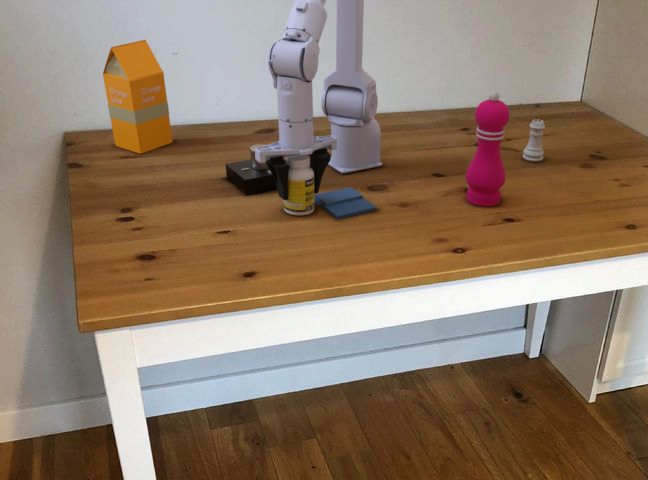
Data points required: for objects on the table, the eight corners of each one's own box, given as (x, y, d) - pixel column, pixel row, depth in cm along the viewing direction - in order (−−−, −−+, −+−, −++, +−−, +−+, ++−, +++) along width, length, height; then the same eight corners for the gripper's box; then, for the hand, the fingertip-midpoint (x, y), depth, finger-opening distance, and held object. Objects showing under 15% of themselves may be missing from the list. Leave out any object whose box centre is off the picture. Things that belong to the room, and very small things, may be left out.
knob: (247, 164, 144) (246, 144, 142) (267, 161, 146) (266, 141, 144) (256, 171, 142) (255, 151, 139) (276, 168, 144) (275, 147, 141)
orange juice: (173, 142, 161) (160, 42, 150) (140, 154, 155) (124, 50, 144) (147, 134, 164) (132, 36, 153) (114, 145, 158) (96, 44, 147)
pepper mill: (506, 196, 145) (519, 88, 133) (497, 210, 139) (510, 99, 128) (469, 189, 146) (479, 83, 135) (459, 203, 141) (469, 93, 129)
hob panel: (278, 168, 151) (278, 153, 150) (300, 184, 145) (299, 168, 143) (226, 178, 146) (225, 162, 144) (246, 195, 140) (244, 179, 138)
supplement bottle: (309, 218, 133) (308, 163, 128) (279, 214, 134) (277, 160, 128) (318, 205, 137) (317, 153, 132) (289, 202, 138) (287, 149, 133)
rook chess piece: (519, 160, 161) (524, 122, 156) (525, 153, 164) (530, 116, 160) (540, 164, 159) (546, 126, 155) (545, 157, 163) (551, 120, 158)
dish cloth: (351, 192, 143) (351, 186, 142) (376, 210, 137) (376, 203, 136) (313, 201, 139) (312, 194, 138) (337, 219, 133) (337, 212, 132)
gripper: (266, 131, 120) (270, 211, 128) (346, 118, 127) (346, 194, 135) (247, 118, 125) (253, 196, 133) (325, 106, 132) (326, 181, 140)
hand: (298, 194), depth 134 cm, fingers closed on supplement bottle, 5 cm apart
